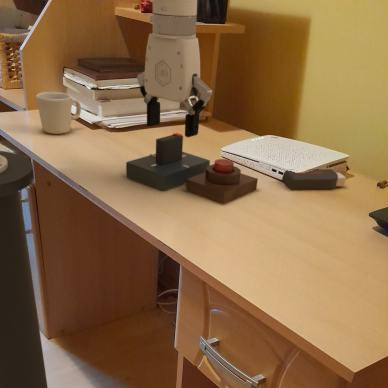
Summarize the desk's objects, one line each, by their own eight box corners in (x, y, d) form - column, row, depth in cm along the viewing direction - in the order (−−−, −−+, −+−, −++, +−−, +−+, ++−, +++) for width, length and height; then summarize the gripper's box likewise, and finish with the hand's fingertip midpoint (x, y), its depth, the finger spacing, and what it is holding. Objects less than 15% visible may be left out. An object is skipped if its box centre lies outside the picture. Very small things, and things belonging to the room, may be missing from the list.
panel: (164, 191, 98) (164, 174, 96) (125, 177, 103) (125, 160, 101) (209, 174, 107) (210, 159, 105) (172, 162, 112) (172, 147, 110)
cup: (72, 124, 131) (70, 89, 126) (90, 131, 126) (88, 96, 121) (33, 129, 125) (29, 93, 120) (50, 138, 120) (47, 100, 115)
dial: (162, 165, 101) (162, 139, 98) (155, 162, 102) (155, 137, 99) (182, 158, 105) (183, 134, 102) (175, 156, 105) (176, 132, 103)
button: (225, 175, 96) (226, 166, 95) (210, 170, 98) (210, 161, 97) (236, 171, 99) (237, 162, 98) (221, 166, 100) (222, 157, 99)
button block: (223, 204, 95) (225, 182, 92) (185, 190, 99) (186, 169, 97) (256, 189, 102) (259, 169, 99) (219, 177, 106) (221, 157, 104)
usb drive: (281, 180, 107) (284, 167, 105) (335, 180, 109) (338, 167, 108) (290, 190, 103) (293, 176, 101) (345, 189, 105) (349, 175, 104)
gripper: (123, 22, 91) (126, 124, 101) (199, 34, 83) (194, 144, 93) (152, 20, 96) (152, 118, 106) (227, 31, 87) (219, 136, 98)
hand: (172, 130), depth 100 cm, fingers open, 9 cm apart
